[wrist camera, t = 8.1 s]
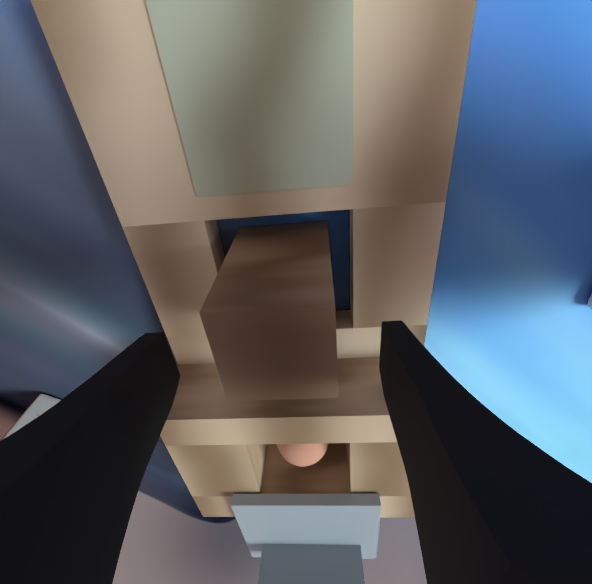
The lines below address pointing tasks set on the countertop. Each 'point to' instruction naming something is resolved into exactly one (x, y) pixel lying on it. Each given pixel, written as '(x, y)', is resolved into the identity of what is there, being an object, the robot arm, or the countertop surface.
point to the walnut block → (275, 314)
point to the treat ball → (302, 453)
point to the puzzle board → (274, 196)
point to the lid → (309, 535)
